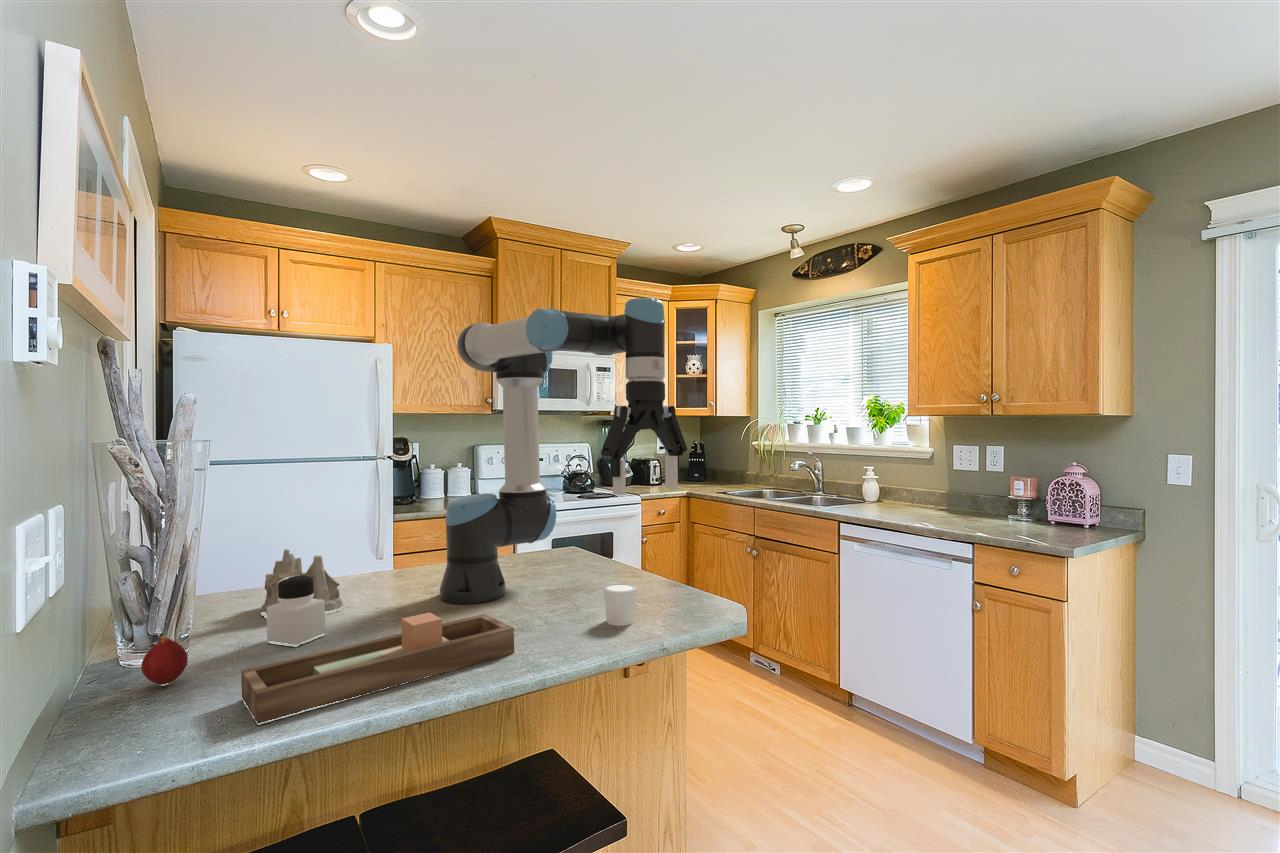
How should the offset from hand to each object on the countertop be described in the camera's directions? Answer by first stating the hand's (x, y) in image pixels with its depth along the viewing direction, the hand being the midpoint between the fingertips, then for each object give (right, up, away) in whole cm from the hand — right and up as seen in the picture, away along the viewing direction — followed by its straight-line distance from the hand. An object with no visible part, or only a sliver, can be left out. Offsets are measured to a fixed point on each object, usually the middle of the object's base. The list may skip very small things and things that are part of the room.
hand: (646, 491), depth 123 cm
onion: (-77, -29, -21) cm, 84 cm away
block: (-38, -25, -14) cm, 48 cm away
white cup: (-5, -28, +8) cm, 29 cm away
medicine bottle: (-67, -28, -1) cm, 73 cm away
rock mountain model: (-76, -28, +19) cm, 83 cm away
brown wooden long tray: (-42, -28, -18) cm, 54 cm away
